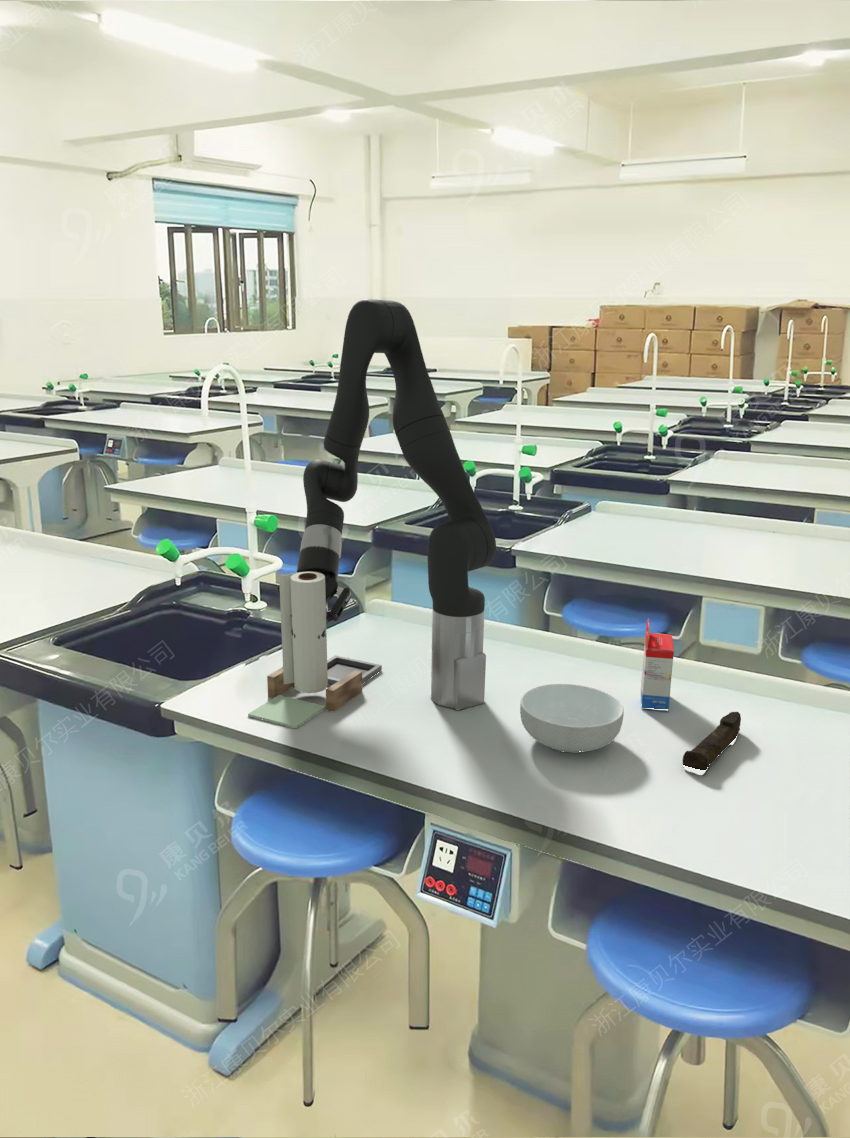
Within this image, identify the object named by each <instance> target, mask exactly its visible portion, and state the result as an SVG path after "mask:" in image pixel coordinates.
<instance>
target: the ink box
mask: <svg viewBox="0 0 850 1138" xmlns="http://www.w3.org/2000/svg"><path fill="white" fill-rule="evenodd" d="M644 638H645V639H644V647H643V648H644V649H643V659H642V671H641V680H640V681H641V682H640V683H641V684H640V702H641V703H640V705H641V704H642V706H641V709H642V708H654V709H669V710H670V699H671V688H672V686H671V684H672V676H673V675H672V672H673V664H674V654H675V648H674V647H675V646H674V640H673V635H672V634H665V633H655V632H652V633H651V630H650V619H649V618H647V622H646V628H645V637H644Z"/></svg>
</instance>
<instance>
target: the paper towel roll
mask: <svg viewBox="0 0 850 1138" xmlns="http://www.w3.org/2000/svg"><path fill="white" fill-rule="evenodd" d="M278 582H279V583H278V584H279V585H280V595H279V600H280V601H279V603H280V606H279V607H280V627H281V651H282V667H283V679H284V684H290V683H294V685H295V686H294V689H295V690H296V691H297V692H300V693H303V694H315V693H320V692H322V691H324V690H326V689H327V688H328V686H329V685H328V673H327V660H328V639H327V637H328V636H327V629H326V594H325V576H324V575H323V574H322V573H318V572H297V571H296V572H293V573H289V574H280V575H278ZM291 614H292V617H291V616H290V615H291ZM292 629H293V634H294V633H295V636H296V637H295V638H294V635H293V636H292V633H291V630H292ZM324 630H325V631H326V636H324V638H323V637H322V636H321V635H322V633H323V631H324ZM319 635H320V639H318V636H319Z"/></svg>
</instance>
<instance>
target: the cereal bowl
mask: <svg viewBox="0 0 850 1138" xmlns="http://www.w3.org/2000/svg"><path fill="white" fill-rule="evenodd" d="M519 706H520V708H519V713H520V720H521V723H522V725H523V728H524V730H525V731H526V732H527V733H528V734H529V736H530V737H532V738H533V739H534V740H536V741H537V742H538V743H540V744H542V745H544V746H547V747H548V748H550V747H551V748H550V749H552V748H553V750H554V749H555V751H557V750H558V751H557V752H560V751H564V752H563V753H565V752H579V751H581V753H583V752H582V751H585V752H589V751H590V752H591V751H596V750H599V749H601V748H603V747H606V746H607V745H609V744H610V743H612V742H613V741H614V740H615V739H616V738H617V736H618V735H619V734H620V732H621V729H622V726H623V720H624V714H625V713H624V705H623V704H622V702H621V701H620V700H619V699H617V698H616V696H613V695H612V694H609V693H608V692H605V691H602V690H600V689H598V688H595V687H589V686H585V685H579V684H571V683H551V684H543V685H540V686H536V687H533V688H531V689H529V690H527V691H526V692H525V693H523V695H522V697H521V699H520V705H519Z"/></svg>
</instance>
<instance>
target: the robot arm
mask: <svg viewBox="0 0 850 1138" xmlns="http://www.w3.org/2000/svg"><path fill="white" fill-rule="evenodd" d="M343 334H344V335H343V342H342V343H343V344H342V351H341V356H340V357H341V359H340V366H339V373H338V382H337V390H336V396H335V398H334V399H335V400H334V405H333V407H332V412H331V415H330V418H329V422H328V425H327V428H326V432H325V435H324V438H323V447H324V449H325V451H326V452H328V454H330V455H332V456H334V457H336V458H337V459H340V460H341V461H342V462H343V463H344V464H339V463H335V462H332V461H327V460H323V459H316V458H315V459H314V460H313V459H312V460H311V461H310V462H308V464H307V465H306V467H305V469H304V471H303V475H302V477H303V480H302V481H303V489H304V496H305V501H306V519H305V526H304V531H303V535H302V538H301V542H300V548H299V553H298V554H299V555H298V561H297V567H296V573H297V572H318V573H322V574H323V575H324V576H325V594H326V631H325V630H324V631H323V633H322V635H321V636H322V637H323V638H324V636H326V633H327V628H328V623H329V622H331V621H333V622H337V621H338V620H339V619H340V617H341V616H342V614H343V612H344V610H345V609H346V607H347V605H348V604H349V602H350V600H351V599H352V593H351V590H350V588H349V587H345V588H344V587H341V586H339V584H338V575H339V567H340V561H341V557H342V544H343V543H342V538H343V537H342V534H343V530H344V529H343V528H344V522H345V513H344V512H345V511H344V510H343V508H342V507H341V506H340V505H339V504H337V503H335V502H334V501H336V502H339V503H340V502H341V503H346V502H349V501H350V500H352V499H353V498H354V497H355V495H356V493H357V490H358V483H359V482H358V481H359V480H358V477H359V476H358V475H359V473H358V470H359V469H358V466H359V457H360V451H361V446H362V443H363V441H364V438H365V434H366V431H367V428H368V423H369V419H370V404H369V397H368V392H367V373H368V369H369V366H370V364H371V361H372V359H373V356H374V355H375V354H384V355H385V357H386V360H387V361H388V363H389V366H390V369H391V371H392V375H393V377H394V378H393V379H394V383H395V395H394V402H393V408H392V409H393V411H392V426H393V430H394V434H395V436H396V439H397V441H398V445H399V447H400V450H401V452H402V455H403V457H404V459H405V461H406V463H407V464H408V466H409V467H410V468H411V469H412V471H413V472H414V473H415V474H416V475H417V476H418V477H419V478H420V479H421V480H422V481H423V482H424V483H425V484H426V485H428V487H430V489H431V490H432V491H433V492H434V493H435V494H436V496H437V497H438V498H439V500H440V501H441V503H442V505H443V507H444V509H445V511H446V513H447V515H448V518H449V521H446V522H443V523H440V524H437V525H435V527H433V529H432V530H431V532H430V534H429V536H428V540H427V551H426V552H427V553H426V555H427V575H428V576H427V577H428V581H427V582H428V589H429V590H428V591H429V595H430V597H431V601H432V612H431V613H432V622H431V628H432V629H431V670H430V671H431V672H430V673H431V674H430V675H431V676H430V677H431V679H430V680H431V681H430V682H431V683H430V684H431V685H430V688H431V689H430V698H431V700H432V701H433V702H434V703H435V704H437V705H439V706H442V707H446V708H452V709H454V710H455V711H460V710H463V709H466V708H467V709H468V708H470V707H474V706H477V705H480V704H484V703H485V694H486V691H485V689H486V666H487V664H486V663H487V655H486V653H485V652H484V638H485V637H484V635H485V634H484V633H485V611H486V610H485V604H486V603H485V602H486V598H485V594H484V593H483V591H481V590H479V589H477V588H473V587H470V586H469V572H471V571H475V570H479V569H482V568H485V567H487V566H489V565H490V564H492V562H493V561H494V559H495V558H496V553H497V541H496V536H495V533H494V531H493V528H492V525H491V523H490V521H489V518H488V517H487V515H486V513H485V511H484V509H483V507H482V505H481V503H480V501H479V499H478V497H477V494H476V493H475V491H474V489H473V487H472V484H471V483H470V480H469V478H468V475H467V472H466V469H465V468H464V466H463V463H462V460H461V458H460V455H459V453H458V450H457V448H456V445H455V441H454V439H453V435H452V433H451V431H450V427H449V426H448V421H447V420H446V416H445V413H444V412H443V409H442V407H441V405H440V402H439V400H438V397H437V394H436V392H435V389H434V385H433V383H432V380H431V377H430V374H429V372H428V368H427V365H426V363H425V358H424V355H423V350H422V348H421V343H420V339H419V336H418V332H417V329H416V325H415V321H414V319H413V317H412V314H411V312H410V311H409V309H408V308H407V307H406V305H404V304H402V303H401V302H400V301H395V300H386V299H376V298H364V299H360V300H359V301H357V302H355V304H353V306H352V307H351V308H350V311H349V313H348V316H347V320H346V323H345V329H344V333H343ZM277 592H278V596H280V584H279V585H278V586H277ZM335 595H336V597H337V599H336V602H334V604H333V606H332V608H331V610H328V609H329V608H328V607H329V606H328V603H329V601H330V600H331V599H332V598H333V597H334V596H335ZM290 616H291V617H292V614H291V615H290ZM291 633H292V636H293V635H294V638H295V637H296V636H295V633H294V634H293V629H292V630H291ZM318 639H320V635H319V636H318Z"/></svg>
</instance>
